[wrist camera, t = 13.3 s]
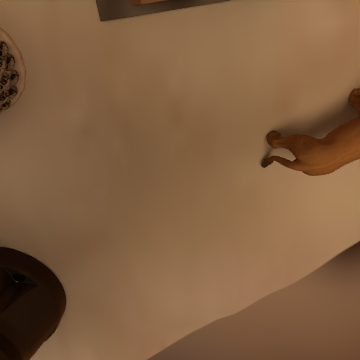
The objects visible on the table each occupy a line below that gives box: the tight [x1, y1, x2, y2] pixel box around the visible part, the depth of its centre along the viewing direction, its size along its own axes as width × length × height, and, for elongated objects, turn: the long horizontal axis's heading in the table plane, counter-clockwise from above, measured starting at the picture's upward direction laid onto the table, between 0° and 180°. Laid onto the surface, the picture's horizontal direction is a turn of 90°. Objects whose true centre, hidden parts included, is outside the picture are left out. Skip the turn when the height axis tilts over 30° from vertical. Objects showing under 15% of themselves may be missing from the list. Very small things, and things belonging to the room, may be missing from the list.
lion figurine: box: [261, 89, 360, 176], centre depth 28 cm, size 15×5×9 cm, turn 128°
